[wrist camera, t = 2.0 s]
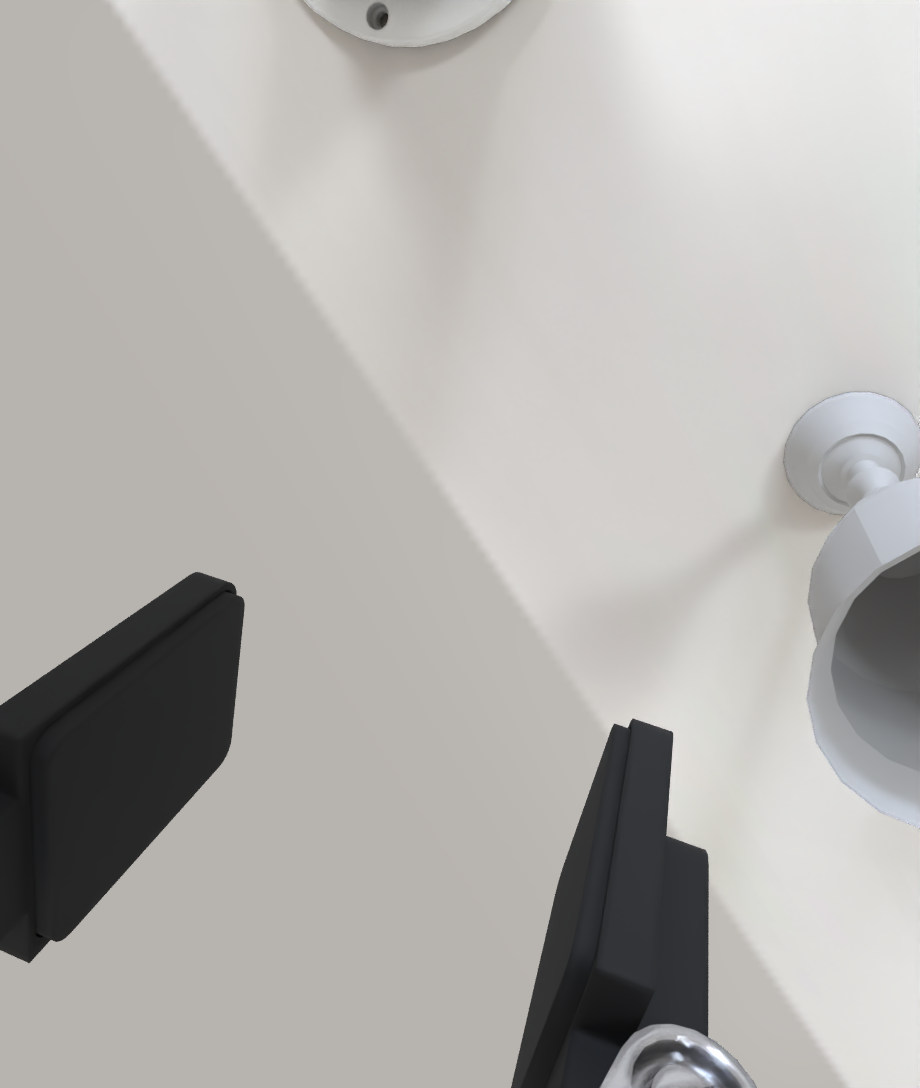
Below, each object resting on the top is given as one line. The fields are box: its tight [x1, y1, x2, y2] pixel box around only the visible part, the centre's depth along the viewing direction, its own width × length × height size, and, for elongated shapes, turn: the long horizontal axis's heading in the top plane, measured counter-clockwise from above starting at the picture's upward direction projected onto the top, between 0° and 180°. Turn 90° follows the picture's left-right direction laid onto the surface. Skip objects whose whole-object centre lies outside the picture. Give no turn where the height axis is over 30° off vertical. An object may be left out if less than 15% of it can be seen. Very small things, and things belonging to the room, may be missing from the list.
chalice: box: [784, 392, 920, 828], centre depth 24 cm, size 7×7×18 cm
